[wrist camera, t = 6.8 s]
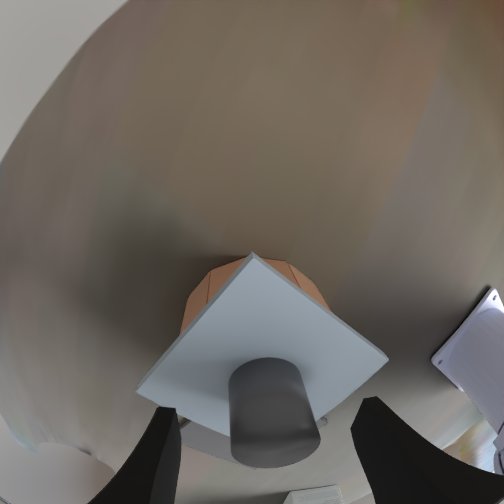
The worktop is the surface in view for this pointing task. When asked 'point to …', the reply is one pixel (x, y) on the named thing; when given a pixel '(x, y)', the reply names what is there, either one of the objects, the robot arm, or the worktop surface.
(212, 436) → the mat
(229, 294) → the lid
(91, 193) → the worktop surface
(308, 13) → the worktop surface
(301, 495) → the small box
